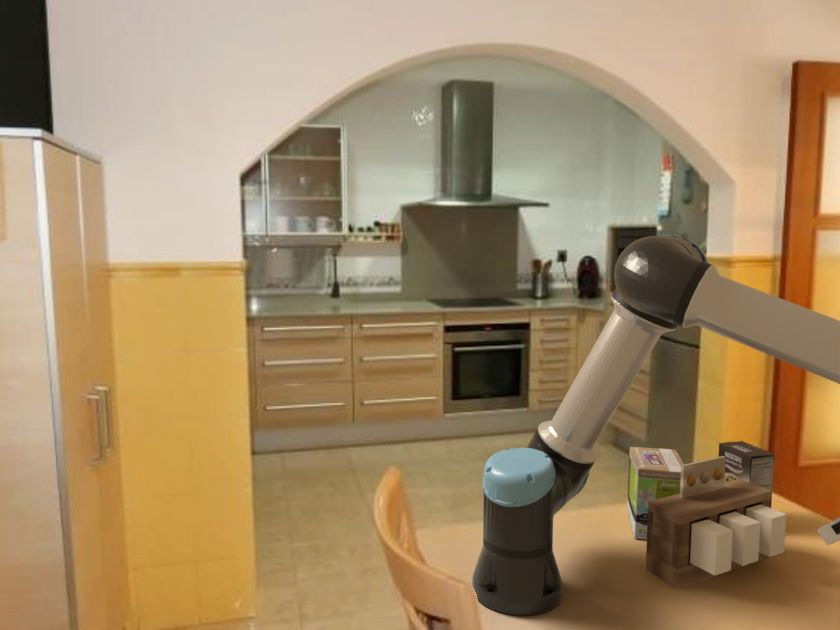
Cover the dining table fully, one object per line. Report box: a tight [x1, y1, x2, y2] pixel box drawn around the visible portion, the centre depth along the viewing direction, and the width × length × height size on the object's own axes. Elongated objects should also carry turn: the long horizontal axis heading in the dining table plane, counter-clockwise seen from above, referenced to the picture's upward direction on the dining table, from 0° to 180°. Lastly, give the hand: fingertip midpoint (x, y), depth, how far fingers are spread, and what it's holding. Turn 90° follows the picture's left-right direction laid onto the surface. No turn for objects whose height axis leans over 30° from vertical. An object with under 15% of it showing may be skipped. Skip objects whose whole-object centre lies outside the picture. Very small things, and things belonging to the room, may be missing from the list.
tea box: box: [626, 446, 685, 541], centre depth 139 cm, size 15×10×15 cm, turn 169°
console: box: [645, 456, 773, 589], centre depth 122 cm, size 7×24×19 cm, turn 117°
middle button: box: [719, 512, 760, 567], centre depth 117 cm, size 5×4×7 cm
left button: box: [690, 519, 733, 577], centre depth 114 cm, size 5×4×7 cm
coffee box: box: [717, 440, 776, 492], centre depth 140 cm, size 9×6×16 cm
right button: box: [746, 504, 787, 558], centre depth 120 cm, size 5×4×7 cm
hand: (824, 536), depth 111 cm, fingers closed
